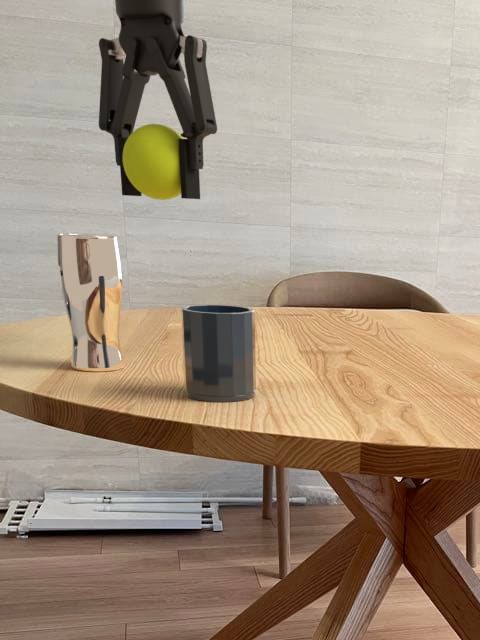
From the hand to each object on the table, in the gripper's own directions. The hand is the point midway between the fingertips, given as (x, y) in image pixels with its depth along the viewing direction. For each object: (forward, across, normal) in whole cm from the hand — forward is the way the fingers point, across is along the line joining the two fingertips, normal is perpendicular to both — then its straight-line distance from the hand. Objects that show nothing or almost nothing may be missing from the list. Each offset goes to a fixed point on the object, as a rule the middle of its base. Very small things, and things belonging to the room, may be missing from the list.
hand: (161, 197), depth 102 cm
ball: (0, 0, 0) cm, 0 cm away
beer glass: (+20, +2, +12) cm, 23 cm away
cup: (+20, -19, +15) cm, 31 cm away
